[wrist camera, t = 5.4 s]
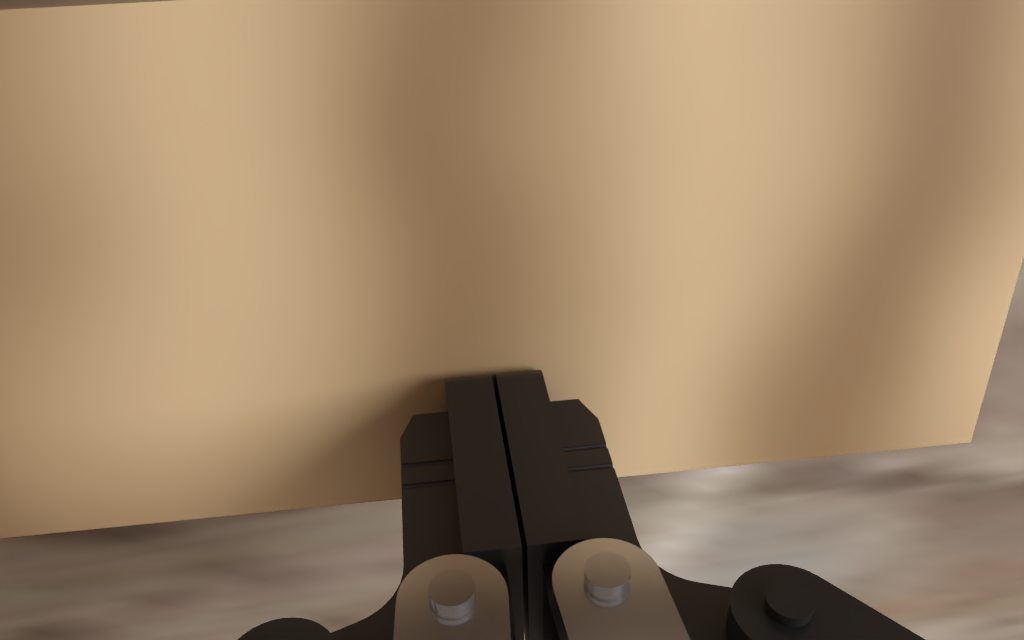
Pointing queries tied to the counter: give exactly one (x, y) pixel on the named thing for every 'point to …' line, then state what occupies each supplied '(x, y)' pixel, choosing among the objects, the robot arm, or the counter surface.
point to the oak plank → (488, 235)
